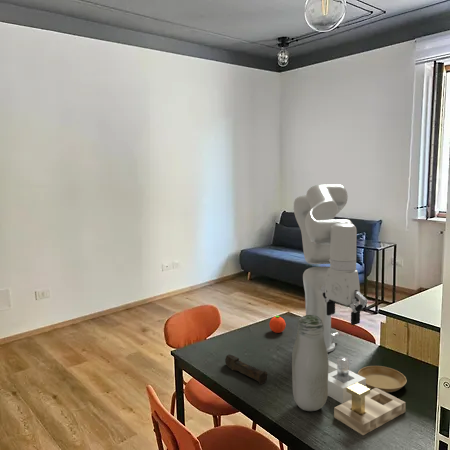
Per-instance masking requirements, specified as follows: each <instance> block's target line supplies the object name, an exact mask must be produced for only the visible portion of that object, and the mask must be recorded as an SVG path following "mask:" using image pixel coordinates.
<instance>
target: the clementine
mask: <svg viewBox="0 0 450 450" xmlns="http://www.w3.org/2000/svg"><path fill="white" fill-rule="evenodd" d="M286 325H287V324H286V320H285V319H284V318H283V317H281V316H280V315H275V316H274V317H272V318H271V319H270V321H269V325H268V326H269V329H270V330H271V331H272V332H273V333H275V334H281V333H282V332H284V330H285V329H286Z"/></svg>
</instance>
